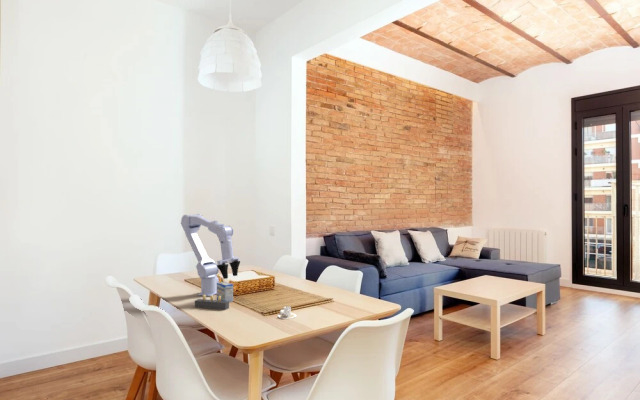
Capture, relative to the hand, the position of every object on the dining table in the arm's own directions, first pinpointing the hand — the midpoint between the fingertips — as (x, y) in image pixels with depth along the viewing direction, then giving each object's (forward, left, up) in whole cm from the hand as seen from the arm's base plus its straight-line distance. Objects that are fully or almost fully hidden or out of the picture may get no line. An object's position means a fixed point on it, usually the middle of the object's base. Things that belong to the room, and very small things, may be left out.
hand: (230, 277), depth 192 cm
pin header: (+16, -1, -11) cm, 19 cm away
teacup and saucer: (+16, +38, -11) cm, 43 cm away
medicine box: (+5, -1, -11) cm, 12 cm away
